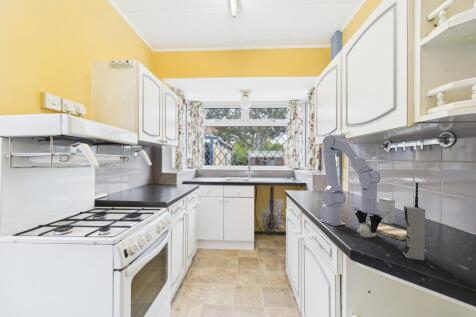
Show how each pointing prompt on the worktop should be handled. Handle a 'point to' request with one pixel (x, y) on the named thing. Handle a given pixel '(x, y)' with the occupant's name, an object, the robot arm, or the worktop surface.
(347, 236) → the worktop surface
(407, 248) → the vintage mobile phone
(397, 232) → the birch board
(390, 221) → the skincare box
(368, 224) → the capped bottle
